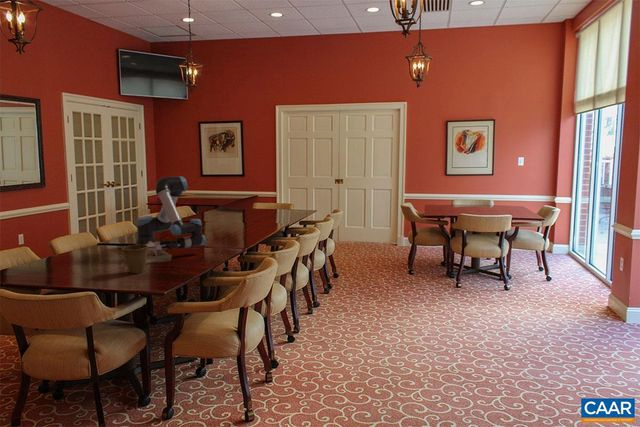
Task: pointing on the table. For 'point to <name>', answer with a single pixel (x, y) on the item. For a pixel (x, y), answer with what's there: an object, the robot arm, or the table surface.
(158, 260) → the square tray
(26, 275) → the table surface
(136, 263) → the plant pot
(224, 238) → the table surface
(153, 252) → the teacup with lid
